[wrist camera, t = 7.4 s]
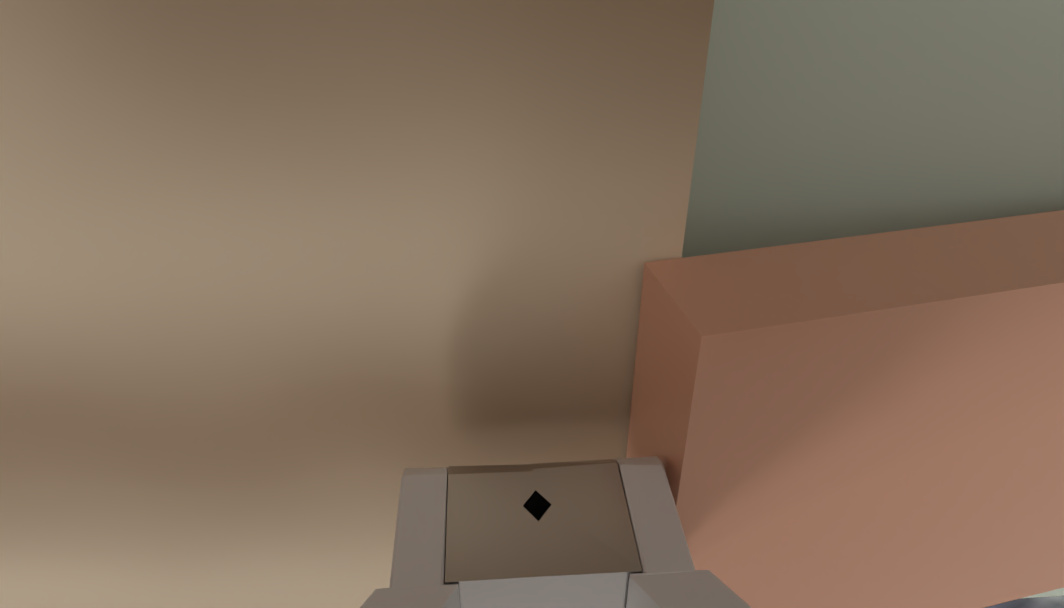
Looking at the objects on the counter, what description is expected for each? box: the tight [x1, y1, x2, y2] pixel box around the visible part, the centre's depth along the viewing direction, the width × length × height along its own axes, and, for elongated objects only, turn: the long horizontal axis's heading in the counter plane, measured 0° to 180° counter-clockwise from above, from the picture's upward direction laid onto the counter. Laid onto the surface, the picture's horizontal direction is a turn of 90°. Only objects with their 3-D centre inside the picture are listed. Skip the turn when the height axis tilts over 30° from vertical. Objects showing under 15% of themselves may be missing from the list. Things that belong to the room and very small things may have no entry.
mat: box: [682, 0, 1064, 598], centre depth 11 cm, size 14×12×1 cm
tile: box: [626, 210, 1064, 608], centre depth 10 cm, size 6×9×2 cm, turn 90°
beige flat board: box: [0, 0, 714, 608], centre depth 11 cm, size 20×12×2 cm, turn 0°
